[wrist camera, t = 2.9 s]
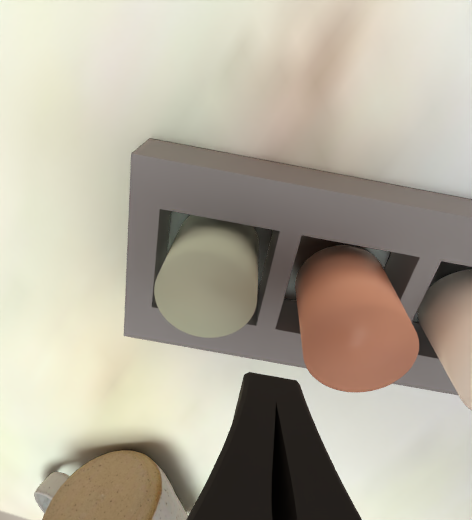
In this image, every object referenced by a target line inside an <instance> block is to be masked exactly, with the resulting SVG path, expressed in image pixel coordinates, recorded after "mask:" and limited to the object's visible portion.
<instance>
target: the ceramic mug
mask: <svg viewBox="0 0 472 520" xmlns="http://www.w3.org/2000/svg"><path fill="white" fill-rule="evenodd" d="M34 496H35V500H36V502H37V503H38V505H39V507H40V508H41V509H42V511H43V512H44V513H45V514H44V517H43V519H42V520H187V518H188V515H187V513H186V511H185V510H184V508H183V506H182V504H181V503H180V501H179V499H178V498H177V496H176V494H175V492H174V490H173V488H172V485H171V483H170V482H169V480H168V478H167V477H166V475H165V473H164V472H163V471H162V470H161V469H160V468H159V467H158V465H157V464H156V463H155V462H154V461H153V460H152V459H150V458H149V457H148V456H146V455H145V454H142V453H139V452H136V451H132V450H121V451H114V452H110V453H107V454H104V455H101V456H99V457H97V458H95V459H93V460H91V461H89V462H88V463H86V464H85V465H83V466H82V467H81V468H79V469H78V470H77V471H75V472H74V473H73V474H72V475H71V476H69V475H67V474H64V473H61V472H53V473H51V474H50V475H49V476H48V477H47V478H46V479H45V480H44V481H43V482H42V483H41V484H40V486H39V487H38V488H37V490H36V491H35V493H34Z"/></svg>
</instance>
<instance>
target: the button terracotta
mask: <svg viewBox="0 0 472 520" xmlns="http://www.w3.org/2000/svg"><path fill="white" fill-rule="evenodd" d="M295 291H296V299H297V308H298V316H299V325H300V333H301V342H302V350H303V359H304V362H305V365H306V367H307V369H308V371H309V372H310V373H311V375H312V376H313V377H314V378H315V379H317V380H318V381H319V382H321V383H322V384H324V385H326V386H328V387H330V388H333V389H336V390H340V391H346V392H366V391H372V390H376V389H380V388H383V387H385V386H388V385H390V384H392V383H394V382H395V381H397V380H398V379H400V378H401V377H402V376H404V375H405V374H406V373H407V372H408V371H409V369H410V368H411V367H412V366H413V364H414V362H415V360H416V358H417V355H418V352H419V338H418V335H417V332H416V330H415V328H414V326H413V324H412V322H411V320H410V319H409V317H408V315H407V313H406V311H405V309H404V307H403V305H402V303H401V301H400V299H399V297H398V296H397V294H396V292H395V290H394V288H393V286H392V284H391V282H390V280H389V278H388V276H387V274H386V273H385V271H384V269H383V267H382V265H381V263H380V262H379V260H378V259H377V258H376V257H375V256H374V255H373V254H371V253H370V252H368V251H366V250H364V249H362V248H359V247H355V246H349V245H338V246H332V247H328V248H325V249H322V250H320V251H318V252H317V253H315V254H313V255H312V256H311V257H309V258H308V259H307V260H306V261H305V262H304V263H303V265H302V266H301V268H300V269H299V271H298V274H297V276H296V281H295Z"/></svg>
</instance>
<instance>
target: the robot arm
mask: <svg viewBox="0 0 472 520" xmlns="http://www.w3.org/2000/svg"><path fill="white" fill-rule="evenodd" d="M187 520H362V519H361V517H360V515H359V514H358V512H357V510H356V508H355V506H354V504H353V503H352V501H351V499H350V497H349V495H348V493H347V491H346V489H345V488H344V486H343V484H342V482H341V480H340V478H339V476H338V474H337V472H336V470H335V468H334V466H333V463H332V461H331V459H330V457H329V455H328V453H327V451H326V449H325V446H324V444H323V442H322V440H321V438H320V435H319V433H318V431H317V428H316V426H315V424H314V421H313V419H312V416H311V414H310V411H309V409H308V406H307V404H306V401H305V398H304V396H303V393H302V390H301V387H300V385H299V383H298V382H297V381H296V380H290V379H285V378H279V377H274V376H268V375H262V374H257V373H251V372H249V373H247V374H245V375H244V378H243V382H242V386H241V390H240V394H239V398H238V402H237V406H236V410H235V415H234V419H233V423H232V426H231V428H230V431H229V434H228V436H227V439H226V441H225V444H224V446H223V448H222V451H221V453H220V455H219V457H218V459H217V461H216V463H215V465H214V468H213V470H212V472H211V474H210V476H209V478H208V480H207V482H206V484H205V486H204V488H203V490H202V492H201V494H200V496H199V498H198V499H197V501H196V503H195V505H194V507H193V509H192V510H191V512H190V514H189V516H188V518H187Z"/></svg>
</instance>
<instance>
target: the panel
mask: <svg viewBox="0 0 472 520" xmlns="http://www.w3.org/2000/svg"><path fill="white" fill-rule="evenodd" d="M171 211H174V212H179V213H185V214H190V215H196V216H201V217H206V218H212V219H217V220H222V221H228V222H233V223H239V224H244V225H249V226H255V227H260V228H266V229H271V230H273V231H272V235H271V240H270V244H269V248H268V252H267V256H266V260H265V265H264V269H263V273H262V277H261V281H260V286H259V290H258V294H257V305H256V309H255V312H254V314H253V316H252V317H251V319H250V320H249V322H248V323H247V324H246V325H245V326H243V327H242V328H241V329H239V330H238V331H236V332H234V333H232V334H229V335H226V336H222V337H215V338H204V337H197V336H193V335H190V334H187V333H185V332H183V331H181V330H179V329H177V328H176V327H174V326H173V325H172V324H170V323H169V322H168V321H167V320H166V319H165V317H164V316H163V315H162V314H161V312H160V310H159V308H158V306H157V304H156V301H155V295H154V287H155V282H156V279H157V276H158V274H159V272H160V270H161V268H162V265H163V263H164V261H165V259H166V257H167V249H168V238H169V228H170V218H171ZM302 235H303V236H309V237H314V238H319V239H325V240H330V241H336V242H341V243H346V244H352V245H357V246H362V247H368V248H373V249H379V250H384V251H389V252H391V254H390V256H389V259H388V261H387V264H386V266H385V268H384V271H385V273H386V274H387V276H388V278H389V280H390V282H391V284H392V286H393V288H394V290H395V292H396V294H397V296H398V297H399V299H400V301H401V303H402V305H403V307H404V309H405V311H406V313H407V315H408V317H409V319H410V320H411V322H412V320H413V318H414V316H415V314H416V312H417V310H418V308H419V306H420V304H421V302H422V300H423V298H424V296H425V294H426V292H427V289H428V287H429V285H430V283H431V281H432V279H433V277H434V275H435V273H436V271H437V269H438V267H439V265H440V263H441V261H443V262H449V263H454V264H459V265H465V266H470V267H472V199H466V198H461V197H456V196H451V195H445V194H440V193H435V192H430V191H424V190H419V189H414V188H409V187H403V186H398V185H393V184H387V183H382V182H377V181H372V180H366V179H361V178H356V177H351V176H345V175H340V174H335V173H330V172H324V171H319V170H314V169H308V168H303V167H298V166H293V165H287V164H282V163H277V162H272V161H266V160H261V159H256V158H251V157H245V156H240V155H235V154H229V153H224V152H219V151H214V150H208V149H203V148H198V147H193V146H187V145H182V144H177V143H172V142H166V141H161V140H156V139H148V140H147V141H146V142H145V143H143V144H142V145H141V146H140V147H139V148H137V149H136V150H135V151H134V152H132V153H131V173H130V198H129V222H128V247H127V271H126V296H125V320H124V336H128V337H133V338H139V339H145V340H150V341H156V342H161V343H167V344H173V345H178V346H184V347H190V348H195V349H201V350H207V351H212V352H218V353H223V354H229V355H235V356H240V357H246V358H252V359H257V360H263V361H268V362H274V363H280V364H285V365H291V366H297V367H302V368H307V367H306V365H305V362H304V359H303V350H302V342H301V333H300V325H299V316H298V308H297V301H294V300H289V299H284V297H285V293H286V290H287V286H288V282H289V279H290V275H291V272H292V268H293V265H294V261H295V258H296V254H297V250H298V247H299V243H300V240H301V236H302ZM412 324H413V326H414V328H415V330H416V332H417V335H418V338H419V352H418V355H417V358H416V360H415V362H414V364H413V366H412V367H411V368H410V369H409V371H408V372H407V373H406V374H405V375H404V376H402V377H401V378H400V379H398V380H397V381H395V382H394V383H392V384H398V385H404V386H409V387H415V388H421V389H426V390H432V391H437V392H443V393H449V394H454V395H458V393H457V391H456V389H455V387H454V385H453V384H452V382H451V380H450V378H449V376H448V375H447V373H446V371H445V369H444V367H443V365H442V364H441V362H440V360H439V358H438V356H437V354H436V353H435V351H434V349H433V347H432V345H431V344H430V342H429V340H428V338H427V336H426V334H425V333H424V331H423V329H422V327H421V325H420V323H415V322H412Z"/></svg>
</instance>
